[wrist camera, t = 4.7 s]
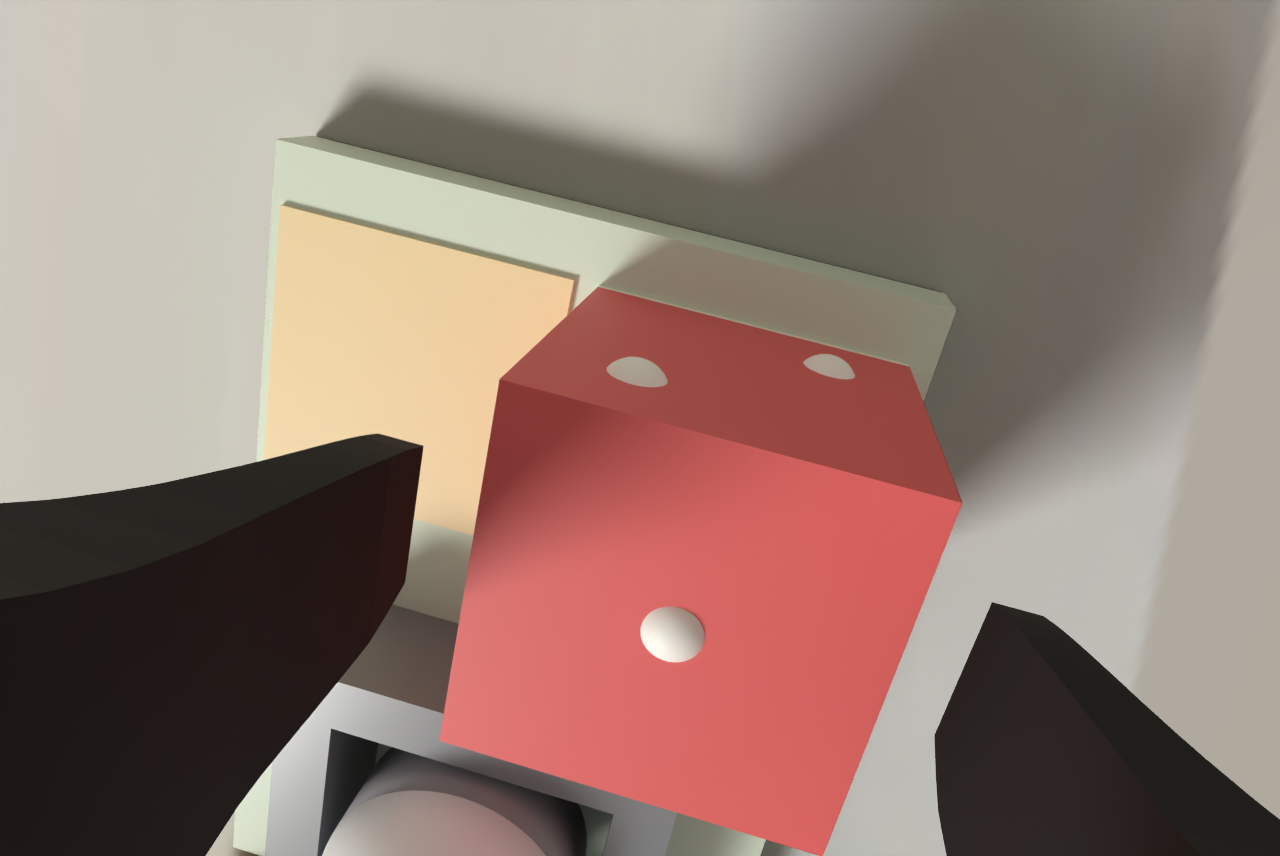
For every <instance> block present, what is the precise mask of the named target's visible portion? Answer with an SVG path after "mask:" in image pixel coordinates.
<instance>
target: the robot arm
mask: <svg viewBox="0 0 1280 856" xmlns="http://www.w3.org/2000/svg"><path fill="white" fill-rule="evenodd" d="M423 447H424V446H422V445H419V444H415V443H411V442H408V441H404V440H400V439H397V438H393V437H390V436H386V435H382V434H379V433H378V434H369V435H363V436H357V437H353V438H348V439H344V440H340V441H335V442H331V443H328V444H324V445H320V446H316V447H312V448H308V449H305V450H301V451H297V452H293V453H289V454H285V455H282V456H278V457H274V458H270V459H266V460H262V461H259V462H255V463H251V464H247V465H243V466H238V467H234V468H229V469H225V470H220V471H216V472H211V473H207V474H202V475H198V476H193V477H189V478H184V479H180V480H175V481H171V482H166V483H161V484H155V485H150V486H145V487H139V488H132V489H126V490H120V491H114V492H106V493H99V494H92V495H84V496H77V497H70V498H61V499H52V500H41V501H27V502H14V503H0V856H205V855H206V854H207V852H208V851H209V849H210V848H211V846H212V845H213V843H214V842H215V840H216V839H217V837H218V836H219V834H220V833H221V831H222V830H223V828H224V827H225V825H226V824H227V822H228V821H229V819H230V818H231V816H232V815H233V813H234V812H235V810H236V809H237V807H238V806H239V804H240V803H241V802H242V800H243V799H244V798H245V796H246V795H247V794H248V792H249V791H250V790H251V788H252V787H253V786H254V784H255V783H256V782H257V780H258V779H259V778H260V776H261V775H262V774H263V773H264V772H265V770H266V769H267V768H268V767H269V765H270V764H271V763H272V762H273V761H274V759H275V758H276V757H277V756H278V754H279V753H280V752H281V751H282V750H283V748H284V747H285V746H286V745H287V744H288V742H289V741H290V740H291V739H292V737H293V736H294V735H295V734H296V733H297V731H298V730H299V729H300V728H301V726H302V725H303V724H304V723H305V722H306V720H307V719H308V718H309V717H310V716H311V714H312V713H313V712H314V711H315V709H316V708H317V707H318V706H319V705H320V703H321V702H322V701H323V700H324V698H325V697H326V696H327V695H328V694H329V692H330V691H331V690H332V689H333V688H334V686H335V685H336V684H337V683H338V681H339V680H340V679H341V678H342V676H343V675H344V674H345V673H346V671H347V670H348V669H349V668H350V666H351V665H352V664H353V663H354V661H355V660H356V659H357V658H358V656H359V655H360V654H361V653H362V651H363V650H364V649H365V648H366V646H367V645H368V644H369V642H370V641H371V639H372V637H373V636H374V634H375V633H376V631H377V629H378V628H379V626H380V625H381V623H382V621H383V620H384V618H385V617H386V615H387V613H388V611H389V610H390V608H391V606H392V605H393V603H394V601H395V599H396V598H397V596H398V594H399V592H400V591H401V589H402V587H403V586H404V584H405V580H406V573H407V565H408V558H409V550H410V543H411V536H412V528H413V521H414V513H415V506H416V499H417V491H418V484H419V477H420V469H421V462H422V454H423ZM935 759H936V783H937V798H938V811H939V817H940V823H941V828H942V834H943V839H944V844H945V849H946V854H947V856H1280V819H1278V818H1277V817H1276V816H1274V815H1273V814H1272V813H1271V812H1269V811H1268V810H1267V809H1266V808H1264V807H1263V806H1262V805H1260V804H1259V803H1258V802H1257V801H1255V800H1254V799H1253V798H1252V797H1251V796H1249V795H1248V794H1247V793H1246V792H1245V791H1243V790H1242V789H1241V788H1240V787H1239V786H1237V785H1236V784H1235V783H1234V782H1233V781H1231V780H1230V779H1229V778H1228V777H1227V776H1225V775H1224V774H1223V773H1222V772H1221V771H1219V770H1218V769H1217V768H1216V767H1215V766H1213V765H1212V764H1211V763H1210V762H1209V761H1207V760H1206V759H1205V758H1204V757H1203V756H1202V755H1201V754H1199V753H1198V752H1197V751H1196V750H1195V749H1194V748H1193V747H1191V746H1190V745H1189V744H1188V743H1187V742H1186V741H1185V740H1183V739H1182V738H1181V737H1180V736H1179V735H1178V734H1177V733H1175V732H1174V731H1173V730H1172V729H1171V728H1170V727H1169V726H1168V725H1167V724H1165V723H1164V722H1163V721H1162V720H1161V719H1160V718H1159V717H1158V716H1157V715H1155V714H1154V713H1153V712H1152V711H1151V710H1150V709H1149V708H1148V707H1147V706H1146V705H1145V704H1143V703H1142V702H1141V701H1140V700H1139V699H1138V698H1137V697H1136V696H1135V695H1134V694H1133V693H1131V692H1130V691H1129V690H1128V689H1127V688H1126V687H1125V686H1124V685H1123V684H1122V683H1121V682H1120V681H1118V680H1117V679H1116V678H1115V677H1114V676H1113V675H1112V674H1111V673H1110V672H1109V671H1108V670H1107V669H1105V668H1104V667H1103V666H1102V665H1101V664H1100V663H1099V662H1098V661H1097V660H1096V659H1095V658H1093V657H1092V656H1091V655H1090V654H1089V653H1088V652H1087V651H1086V650H1085V649H1083V648H1082V647H1081V646H1080V645H1079V644H1078V643H1077V642H1076V641H1074V640H1073V639H1072V638H1071V637H1070V636H1069V635H1067V634H1066V633H1065V632H1064V631H1063V630H1061V629H1060V628H1059V627H1058V626H1056V625H1055V624H1054V623H1052V622H1051V621H1049V620H1048V619H1047V618H1045V617H1044V616H1040V615H1037V614H1033V613H1029V612H1026V611H1022V610H1019V609H1015V608H1011V607H1008V606H1004V605H1000V604H997V603H993V602H992V604H991V606H990V608H989V611H988V613H987V615H986V618H985V620H984V622H983V625H982V627H981V629H980V632H979V634H978V636H977V639H976V641H975V643H974V645H973V648H972V650H971V652H970V655H969V657H968V659H967V662H966V664H965V666H964V669H963V671H962V673H961V676H960V678H959V680H958V682H957V685H956V687H955V689H954V692H953V694H952V696H951V699H950V701H949V703H948V706H947V708H946V710H945V713H944V715H943V717H942V719H941V722H940V724H939V726H938V729H937V731H936V733H935Z"/></svg>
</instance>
